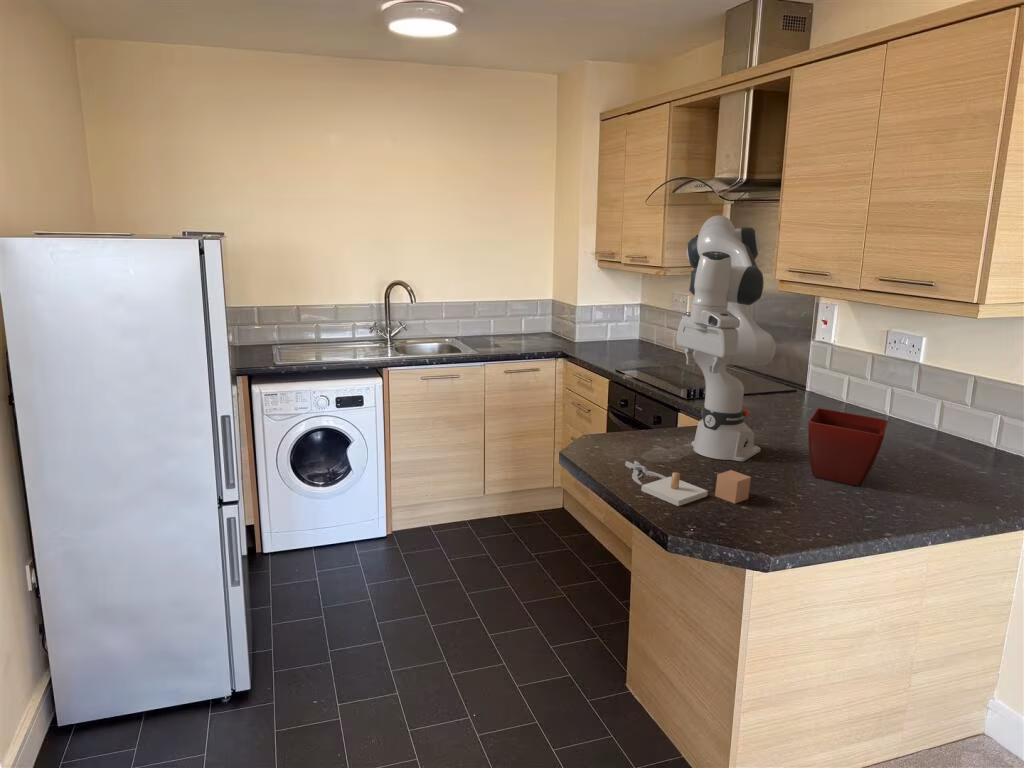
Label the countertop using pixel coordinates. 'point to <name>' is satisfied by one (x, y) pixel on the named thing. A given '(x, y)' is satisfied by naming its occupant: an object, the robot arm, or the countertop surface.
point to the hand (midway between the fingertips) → (701, 369)
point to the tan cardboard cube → (732, 486)
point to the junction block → (674, 490)
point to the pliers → (638, 467)
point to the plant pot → (844, 445)
